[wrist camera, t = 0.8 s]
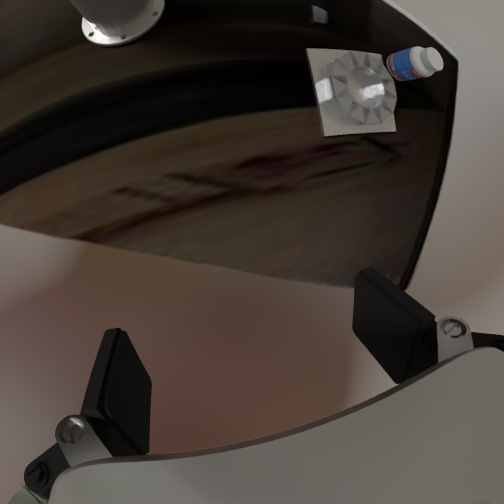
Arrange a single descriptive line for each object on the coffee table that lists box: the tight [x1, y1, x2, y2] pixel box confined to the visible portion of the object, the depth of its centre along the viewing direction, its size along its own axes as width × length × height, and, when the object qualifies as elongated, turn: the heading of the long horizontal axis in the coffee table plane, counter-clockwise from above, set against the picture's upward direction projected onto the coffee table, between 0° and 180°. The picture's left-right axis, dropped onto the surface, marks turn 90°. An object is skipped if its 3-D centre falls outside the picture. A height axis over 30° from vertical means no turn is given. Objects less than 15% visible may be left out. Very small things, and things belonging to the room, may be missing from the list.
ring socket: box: [305, 48, 397, 136], centre depth 33 cm, size 14×14×4 cm
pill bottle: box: [387, 47, 443, 81], centre depth 30 cm, size 6×5×10 cm
